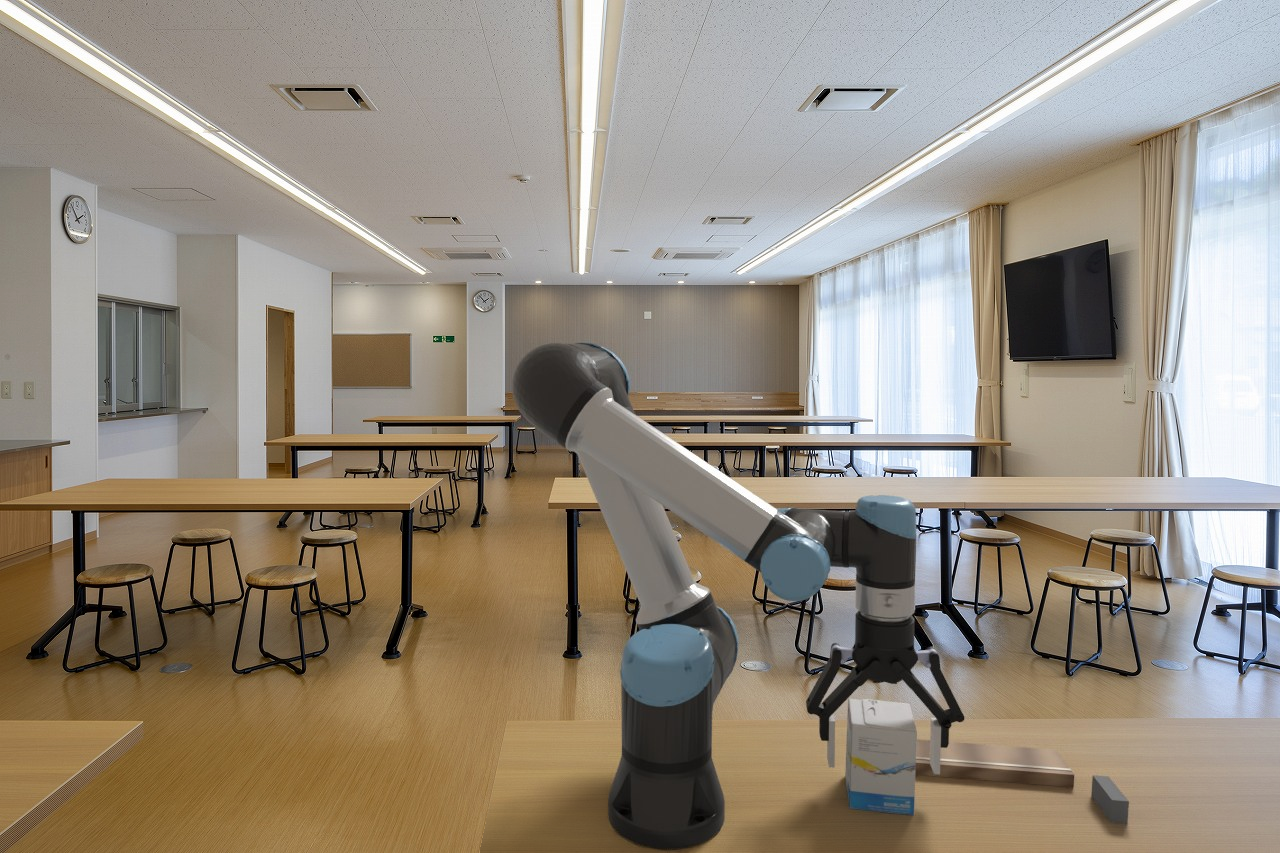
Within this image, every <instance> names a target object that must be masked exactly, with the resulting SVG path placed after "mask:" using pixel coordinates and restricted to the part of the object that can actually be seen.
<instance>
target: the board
mask: <svg viewBox="0 0 1280 853" xmlns="http://www.w3.org/2000/svg"><path fill="white" fill-rule="evenodd" d="M915 776H925V777H926V776H927V777H941V778H954V779H964V780H965V779H966V780H967V779H968V780H977V781H990V782H1001V783H1004V782H1005V783H1014V784H1016V783H1017V784H1018V783H1019V784H1030V785H1041V786H1053V787H1066V788H1067V787H1068V788H1074V787H1075V773H1074V772H1073V770H1072V769H1071V768H1070V766H1068V764H1067V763H1066V762H1065V760H1064V758H1063V757H1062V756H1061V754H1060V753H1059V751H1058V750H1057V749H1054V748H1053V749H1052V748H1038V747H1025V746H1023V747H1022V746H1012V745H998V744H986V743H985V744H983V743H973V742H972V743H970V742H969V743H968V742H959V741H958V742H957V741H949V745H948V747H947V748H941V755H940V774H934V772H933V770H932V768H931V765H930V740H929V739H918V738H917V746H916V770H915Z"/></svg>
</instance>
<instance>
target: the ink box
mask: <svg viewBox="0 0 1280 853" xmlns="http://www.w3.org/2000/svg"><path fill="white" fill-rule="evenodd" d="M847 701H848V702H847V717H846V720H847V722H846V744H845V745H846V747H845V748H846V749H845V751H846V752H845V770H844V771H845V772H844V773H845V784H846V790H847V797H848V806H849V809H851V810H854V809H855V810H864V811H870V812H871V811H872V812H880V813H890V814H899V815H909V816H914V815H915V799H916V798H915V796H916V795H915V794H916V793H915V790H916V775H915V770H916V746H917V739H918V732H917V731H918V730H917V726H916V724H915V719H914V715H913V712H912V708H911V704H910V703H907V702H906V703H905V702H904V703H903V702H899V701H898V702H897V701H888V700H880V699H872V698H871V699H869V698H864V699H863V698H851V697H849V698H848V699H847Z"/></svg>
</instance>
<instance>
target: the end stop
mask: <svg viewBox="0 0 1280 853" xmlns="http://www.w3.org/2000/svg"><path fill="white" fill-rule="evenodd" d="M1091 777H1092V778H1091V779H1092V780H1091V798H1092V799H1093V800H1094V802H1095V803H1096V805H1097V806H1098V808H1099V809H1100V810H1101V811H1102V813H1103V814H1104V815H1105V817H1106V818H1107V819H1108V821H1109V822H1110V823H1114V824H1125V825H1126V824H1129V823H1128V822H1129V820H1128V819H1129V808H1130V807H1129V804H1130V802H1129V800H1128V799H1127V796H1125V794H1123V792H1122V791H1121V790H1120V788H1119V787H1118V786H1117V785H1116V784H1115V782H1114V781H1113V780H1112V779H1111V778H1110V776H1108V775H1094V774H1093V775H1092V776H1091Z"/></svg>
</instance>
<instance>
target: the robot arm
mask: <svg viewBox="0 0 1280 853" xmlns="http://www.w3.org/2000/svg"><path fill="white" fill-rule="evenodd" d="M511 382H512V384H511V387H512V388H511V391H512V397H513V400H514V402H515V405H516V408H517V410H518V411H519V413H520V414H521V415H522V416H523V418H524V419H525V420H526V421H527V422H528V423H529V424H531V425H532V426H533V427H535V428H536V429H537V430H538V431H540V432H541V433H542V434H544V435H545V436H547V437H548V438H550V439H551V440H552V441H554V442H555V443H557V444H558V445H559V446H561V447H562V448H564V449H565V450H567V451H568V452H573V453H575V454H576V455H577V457H578V459H579V461H580V464H581V466H582V469H583V470H584V471H583V472H584V474H585V476H586V478H587V481H588V483H589V485H590V489H592V494H593V495H594V497H595V499H596V501H597V505H598V506H599V509H600V513H601V514H602V517H603V519H604V521H605V523H606V525H607V528H608V530H609V533H610V535H611V537H612V541H613V543H614V545H615V547H616V550H617V552H618V554H619V556H620V559H621V562H622V564H623V566H624V568H625V571H626V573H627V576H628V578H629V580H630V583H631V585H632V588H633V590H634V593H635V595H636V597H637V599H638V601H639V605H640V606H639V610H638V613H637V615H636V618H635V622H636V625H637V627H638V629H639V630H638V631H637V632H636V633H634V634H632V636H630V637H629V638H628V640H627V641H626V643H625V645H624V646H623V650H622V654H621V655H622V656H621V657H622V658H621V662H620V671H619V675H620V680H621V681H620V682H621V684H620V685H621V700H620V701H621V757H620V759H619V764H618V766H617V768H616V771H615V772H616V773H615V775H614V778H613V781H612V784H611V787H610V790H609V794H608V798H607V799H608V800H607V804H608V805H607V810H608V811H607V816H608V817H607V818H608V820H609V823H610V825H611V827H612V829H613V830H614V831H615V832H616V833H617V834H618V835H620V836H621V837H622V838H624V839H625V840H627V841H630V842H632V843H634V844H635V845H639V846H643V847H646V848H651V849H656V850H657V849H658V850H679V849H686V848H691V847H695V846H697V845H700V844H702V843H705V842H707V841H708V840H710V839H712V838H713V837H714V836H716V835H717V834H718V833H719V831H720V830H721V829H722V827H723V825H724V822H725V819H726V818H725V813H726V811H725V810H726V808H725V806H726V801H725V795H724V792H723V789H722V787H721V783H720V780H719V779H720V778H719V776H718V773H717V770H716V768H715V764H714V761H713V757H712V756H713V754H712V751H713V749H712V748H713V747H712V745H713V744H712V743H713V710H714V704H715V702H716V700H717V699H718V696H719V695H720V693H721V691H722V689H723V687H724V685H725V683H726V681H727V679H728V678H729V677H730V675H731V674H732V673H733V670H734V668H735V665H736V663H737V658H738V652H739V634H738V630H737V627H736V625H735V623H734V621H733V620H732V618H731V617H730V615H729V614H728V612H726V611H725V610H724V609H723V608H722V607H719V606H717V604H716V602H715V599H714V597H713V595H712V591H711V590H710V589H709V587H707V586H705V585H704V586H703V585H701V584H700V583H697V581H696V580H695V579H694V576H693V575H692V572H691V570H690V567H689V564H688V563H687V559H686V558H685V556H684V553H683V551H682V548H681V545H680V543H679V541H678V539H677V535H676V534H675V531H674V529H673V527H672V524H671V521H670V520H669V517H668V515H667V513H666V510H665V508H666V509H668V511H670V512H672V513H673V514H675V515H676V516H678V517H679V518H681V519H682V520H683V521H685V522H686V523H688V524H689V525H691V526H692V527H694V528H695V529H696V530H698V531H700V532H701V533H702V534H704V535H705V536H707V537H708V538H710V539H712V540H713V541H714V542H715V543H717V544H719V545H720V546H721V547H723V548H724V549H726V550H728V551H729V552H731V553H732V554H734V555H735V556H736V557H738V558H739V559H740V560H742V561H744V562H745V563H747V564H748V565H750V566H751V567H752V568H753V569H754V570H756V571H758V572H759V573H760V575H761V578H762V580H763V583H764V584H765V586H766V587H767V589H768V591H770V592H771V593H772V594H773V595H775V596H776V597H778V598H779V599H782V600H784V601H789V602H801V601H804V600H808V599H810V598H811V597H813V596H814V595H816V594H817V593H818V592H819V591H820V590H821V589H822V587H823V585H824V584H825V583H826V582H827V580H828V578H829V573H830V571H831V567H833V568H847V569H849V568H855V570H856V574H855V609H856V610H857V612H856V613H855V618H854V619H855V620H854V623H855V624H854V625H855V628H854V631H855V633H854V634H855V635H854V637H855V638H854V644H853V646H852V647H846V646H841V645H840V644H839V643H837V642H833V643H832V644H831V646H830V653H829V658H828V660H827V662H826V664H825V665H824V668H823V670H822V671H821V673H820V675H819V677H818V678H817V680H816V682H815V683H814V686H813V688H812V690H811V691H810V693H809V695H808V696H807V699H806V700H805V705H806V707H805V708H806V711H807V714H809V715H815V716H817V717H818V719H819V720H818V721H819V722H818V723H819V726H818V728H819V731H818V733H819V738H820V740H821V741H822V742H824V741H825V742H827V743H826V745H827V746H826V747H827V749H826V750H827V751H826V755H827V756H826V758H827V764H828V768H835V767H836V766H835V765H836V763H835V761H836V759H835V758H836V757H835V756H836V753H835V752H836V720H835V714H834V713H835V712H836V711H837V710H839V709H840V707H841V706H842V705H843V704H844V703H845V702H846V700H847V701H848V699H849V698H851V697H850V696H852V695H853V694H854V692H856V690H857V689H858V688H859V687H862V686H863V685H864V684H865V683H866V682H867V681H870V682H872V684H882V683H887V684H890V685H898V683H900V682H901V681H903V682H904V683H905V684H906V686H907V687H908V688H909V689H910V690H912V692H913V693H914V695H915V696H917V698H919V700H920V701H921V703H922V704H923V705H924V706H925V707H926V708H927V709H928V711H929V712H930V713H931V714H932V715H933V717H930V731H929V732H930V735H929V736H930V738H929V739H930V765H931V768H932V770H933V772H934V774H940V755H941V748H947V747H948V745H949V742H950V728H952V723H956V722H957V723H962V722H964V721H965V715H964V714H963V711H962V709H961V708H960V705H959V703H958V701H957V699H956V697H955V696H954V693H953V691H952V689H951V687H950V685H949V683H948V681H947V679H946V678H945V675H944V674H943V671H942V669H941V668H942V667H941V659H940V655H939V654H938V652H937V650H936V649H935V647H933V646H928V647H927V648H926V649H925V650H923V649H922V650H915V617H913V614H915V612H916V611H915V610H916V608H915V606H916V601H915V600H916V598H915V597H916V590H915V589H916V562H917V558H916V557H917V538H918V537H917V518H916V517H917V512H916V506H915V505H914V503H913V502H912V501H911V500H909V499H908V498H905V497H902V496H897V495H896V496H895V495H886V494H878V495H864V496H862V497H859V498H858V500H857V501H856V507H855V510H850V511H849V510H845V511H843V510H828V509H827V510H826V509H812V508H811V509H810V508H809V509H807V508H799V507H798V508H797V507H792V506H791V507H789V508H787V507H786V508H784V507H783V508H778V507H777V508H776V507H775V506H773V505H772V504H770V503H769V502H767V501H766V500H764V499H763V498H761V497H760V496H758V495H756V494H755V493H754V492H752V491H751V490H750V489H747V488H746V487H744V486H743V485H741V484H740V483H738V481H736V480H734V479H732V478H731V477H730V476H729V475H727V474H725V473H723V472H722V471H720V470H719V469H717V468H716V467H714V466H713V465H712V464H710V463H709V462H707V461H705V460H704V459H702V458H701V457H699V456H698V455H696V454H695V453H694V452H692V451H690V450H689V449H687V448H686V447H685V446H682V445H681V444H680V443H678V442H677V441H675V440H674V439H673V438H671V437H669V436H668V435H666V434H665V433H663V432H662V431H660V430H659V429H657V428H656V427H654V426H653V425H652V424H649V423H648V422H647V421H645V420H644V419H642V418H640V417H639V416H638V415H636V412H635V410H634V408H633V404H632V403H631V400H630V398H629V394H630V389H631V388H630V387H631V384H630V383H631V382H630V375H629V372H628V370H627V368H626V366H625V364H624V363H623V361H622V360H621V359H620V357H618V355H616V354H615V353H614V352H613V351H611V350H610V349H608V348H606V347H604V346H601V345H598V344H595V343H592V342H591V343H590V342H575V343H562V342H561V343H560V342H552V343H551V342H550V343H544V344H541V345H538V346H536V347H534V348H532V349H531V350H530V351H529V352H527V353H525V355H524V356H523V357H522V358H521V359H520V361H519V363H518V364H517V365H516V367H515V369H514V372H513V376H512V381H511ZM851 658H852V660H853V662H854V663H855V666H854V667H852V669H851V671H850V673H849V674H848V675H847V676H846V677H845V678H844V679H843V680H842V681H841V682H840V683H839V685H837V687H836V688H835V689H834V690H833V691H832V692H831V693H830V694H828V696H826V694H827V692H828V691H829V688H830V687H831V685H832V683H833V682H834V680H835V678H836V676H837V674H838V672H839V671H840V668H841V665H844V664H846V663H847V661H848V659H851ZM918 661H919V662H921V663H922V665H923V666H924V667H925V668H927V669H929V671H930V672H931V675H932V677H933V678H934V681H935V682H936V684H937V686H938V689H939V690H940V692H941V694H942V696H943V698H944V700H945V702H946V704H947V706H948V709H944V708H943V707H942V706H941V705H940V704H939V703H938V701H937V700H936V699H935V697H933V695H932V694H931V693H930V692H929V691H928V689H927V688H926V687H925V686H924V685H923V684H922V683H921V681H920V680H919V679H918V678H917V677H916V675H915V674H914V673H913V671H912V669H913V668H914V667H915V665H916V664H917V663H918ZM825 696H826V698H825ZM824 698H825V699H824Z"/></svg>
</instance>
